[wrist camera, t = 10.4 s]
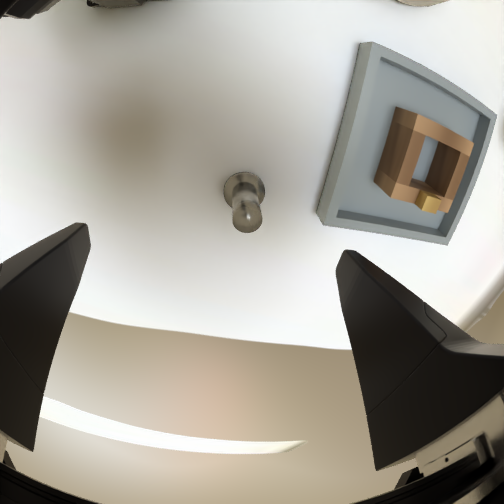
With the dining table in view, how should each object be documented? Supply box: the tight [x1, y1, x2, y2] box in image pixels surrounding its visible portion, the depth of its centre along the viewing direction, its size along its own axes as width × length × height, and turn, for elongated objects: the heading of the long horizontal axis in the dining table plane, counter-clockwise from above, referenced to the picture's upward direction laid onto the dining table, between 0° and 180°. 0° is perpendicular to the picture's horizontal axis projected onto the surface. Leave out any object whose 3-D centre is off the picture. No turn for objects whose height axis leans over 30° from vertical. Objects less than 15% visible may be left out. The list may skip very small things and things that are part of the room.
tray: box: [316, 42, 497, 245], centre depth 19 cm, size 14×14×2 cm
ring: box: [373, 107, 474, 214], centre depth 18 cm, size 6×6×4 cm
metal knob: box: [224, 172, 265, 233], centre depth 19 cm, size 3×3×4 cm
